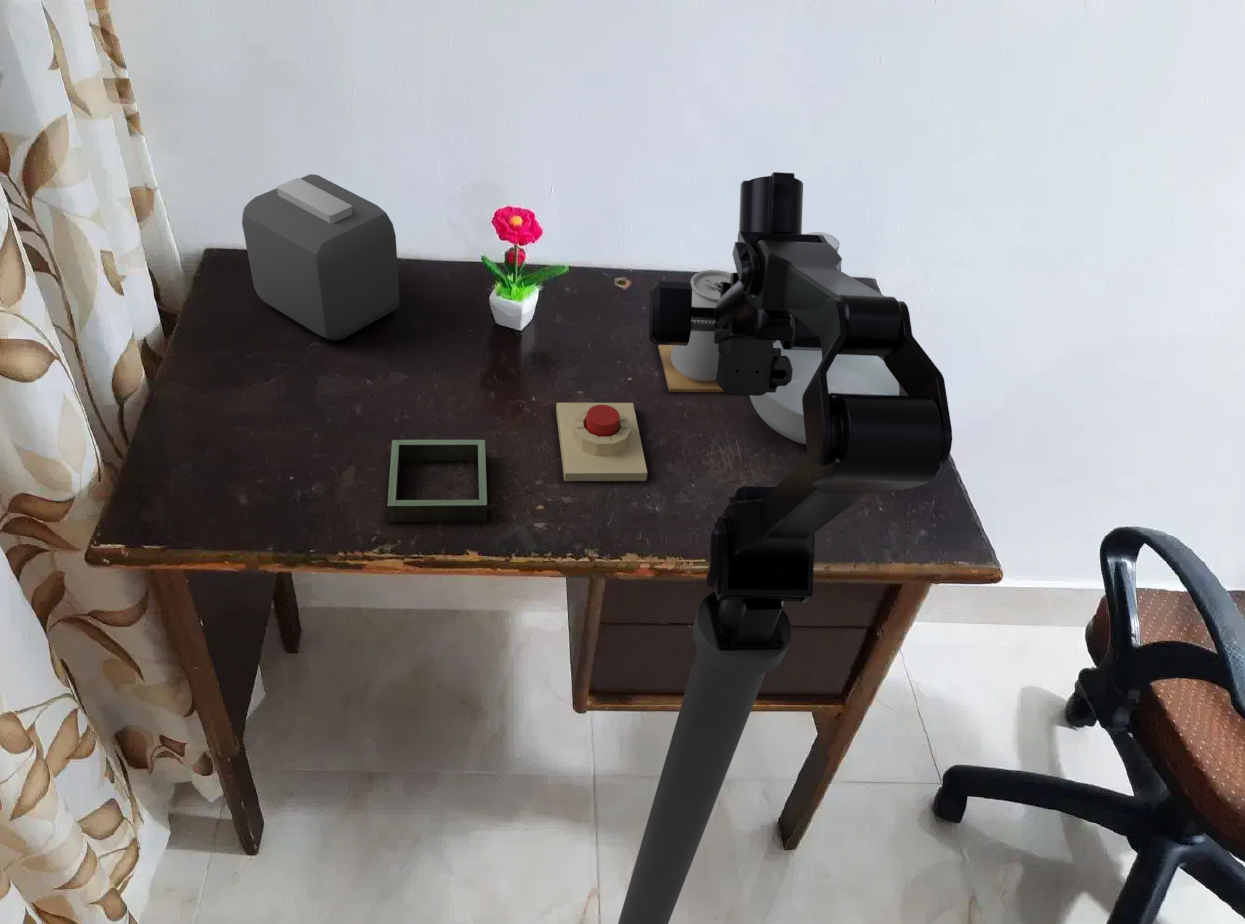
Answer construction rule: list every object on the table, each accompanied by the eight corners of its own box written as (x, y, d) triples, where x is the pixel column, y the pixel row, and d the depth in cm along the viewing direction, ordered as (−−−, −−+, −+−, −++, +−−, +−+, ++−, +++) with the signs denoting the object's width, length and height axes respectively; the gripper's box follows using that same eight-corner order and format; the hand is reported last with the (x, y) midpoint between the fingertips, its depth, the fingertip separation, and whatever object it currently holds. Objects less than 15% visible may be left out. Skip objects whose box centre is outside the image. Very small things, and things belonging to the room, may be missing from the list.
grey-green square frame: (486, 521, 98) (487, 504, 96) (388, 522, 97) (387, 505, 95) (484, 456, 104) (485, 439, 103) (393, 456, 104) (391, 439, 102)
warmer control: (646, 481, 103) (649, 460, 101) (564, 481, 102) (566, 460, 100) (631, 410, 112) (635, 390, 109) (556, 410, 111) (557, 390, 109)
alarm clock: (400, 318, 122) (393, 205, 111) (333, 356, 115) (318, 240, 104) (316, 269, 128) (301, 158, 117) (248, 303, 122) (225, 189, 111)
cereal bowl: (820, 491, 104) (838, 442, 99) (709, 412, 112) (721, 364, 107) (909, 430, 112) (930, 383, 107) (800, 361, 120) (814, 314, 115)
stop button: (619, 437, 104) (621, 425, 103) (587, 437, 104) (588, 425, 103) (615, 416, 107) (617, 404, 105) (584, 416, 106) (585, 404, 105)
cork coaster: (741, 392, 115) (742, 389, 115) (669, 392, 114) (669, 389, 114) (727, 348, 121) (727, 345, 121) (658, 348, 121) (658, 344, 120)
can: (730, 389, 115) (751, 304, 106) (669, 382, 115) (685, 296, 106) (729, 352, 120) (749, 269, 111) (670, 346, 120) (685, 262, 112)
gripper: (660, 381, 91) (636, 400, 106) (851, 388, 92) (800, 406, 107) (664, 264, 90) (639, 300, 106) (855, 273, 91) (803, 307, 107)
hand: (721, 331), depth 107 cm, fingers open, 9 cm apart
